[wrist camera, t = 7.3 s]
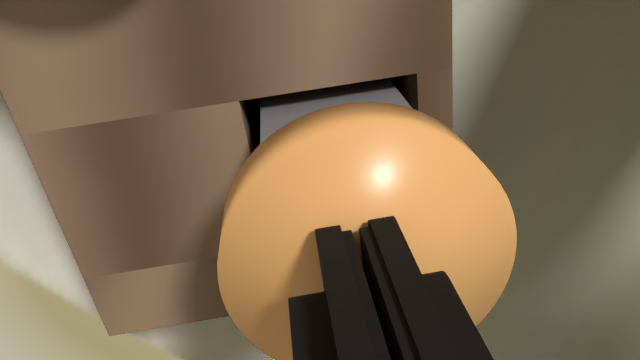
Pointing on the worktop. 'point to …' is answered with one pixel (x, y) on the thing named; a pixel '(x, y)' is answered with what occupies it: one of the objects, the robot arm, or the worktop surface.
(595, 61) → the worktop surface
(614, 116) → the worktop surface
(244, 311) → the orange button
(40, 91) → the button panel
